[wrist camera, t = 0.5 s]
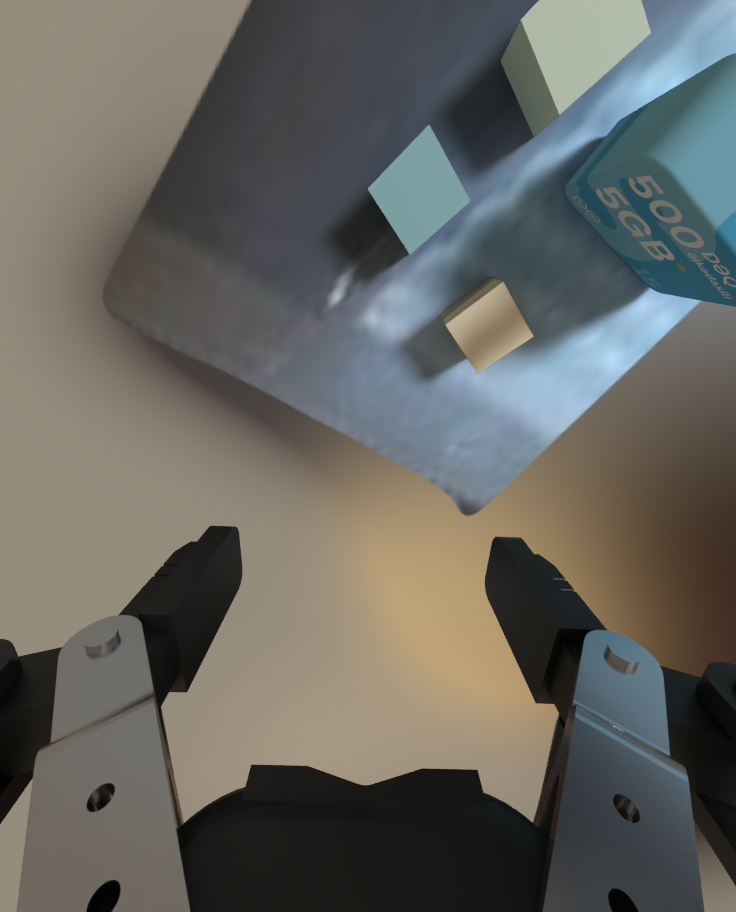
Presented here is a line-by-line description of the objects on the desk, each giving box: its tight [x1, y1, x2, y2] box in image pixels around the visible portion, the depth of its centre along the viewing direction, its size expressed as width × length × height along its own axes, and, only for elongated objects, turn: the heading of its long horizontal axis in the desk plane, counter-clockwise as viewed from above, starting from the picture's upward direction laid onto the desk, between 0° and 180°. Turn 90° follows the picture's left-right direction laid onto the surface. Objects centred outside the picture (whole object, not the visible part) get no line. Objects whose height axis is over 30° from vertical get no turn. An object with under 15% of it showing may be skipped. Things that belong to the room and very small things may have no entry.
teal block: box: [368, 125, 470, 254], centre depth 25 cm, size 5×5×5 cm
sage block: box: [500, 0, 651, 137], centre depth 21 cm, size 5×5×5 cm
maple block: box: [441, 277, 534, 373], centre depth 29 cm, size 5×5×5 cm
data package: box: [565, 53, 736, 307], centre depth 21 cm, size 12×4×12 cm, turn 54°
